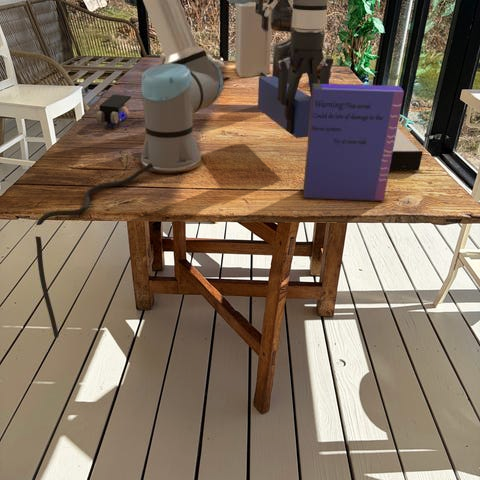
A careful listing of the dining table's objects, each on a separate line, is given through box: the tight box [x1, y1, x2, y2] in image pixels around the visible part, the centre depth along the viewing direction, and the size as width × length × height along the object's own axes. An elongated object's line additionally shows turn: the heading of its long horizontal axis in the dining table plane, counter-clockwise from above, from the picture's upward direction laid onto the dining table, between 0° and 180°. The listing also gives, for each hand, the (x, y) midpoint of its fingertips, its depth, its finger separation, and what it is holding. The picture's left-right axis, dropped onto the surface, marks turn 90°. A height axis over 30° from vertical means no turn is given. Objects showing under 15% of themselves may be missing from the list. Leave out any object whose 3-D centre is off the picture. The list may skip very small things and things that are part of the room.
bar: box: [257, 75, 312, 139], centre depth 125 cm, size 26×5×9 cm, turn 19°
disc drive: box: [389, 127, 424, 172], centre depth 128 cm, size 18×22×5 cm
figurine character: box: [95, 94, 132, 130], centre depth 148 cm, size 7×8×15 cm
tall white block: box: [234, 1, 273, 78], centre depth 210 cm, size 19×15×28 cm
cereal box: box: [302, 83, 405, 202], centre depth 102 cm, size 17×5×24 cm, turn 86°
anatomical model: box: [317, 55, 334, 84], centre depth 196 cm, size 13×9×15 cm
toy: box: [159, 52, 226, 68], centre depth 223 cm, size 24×25×7 cm
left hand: (299, 131), depth 119 cm, fingers closed on bar, 5 cm apart
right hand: (279, 30), depth 137 cm, fingers open, 8 cm apart
